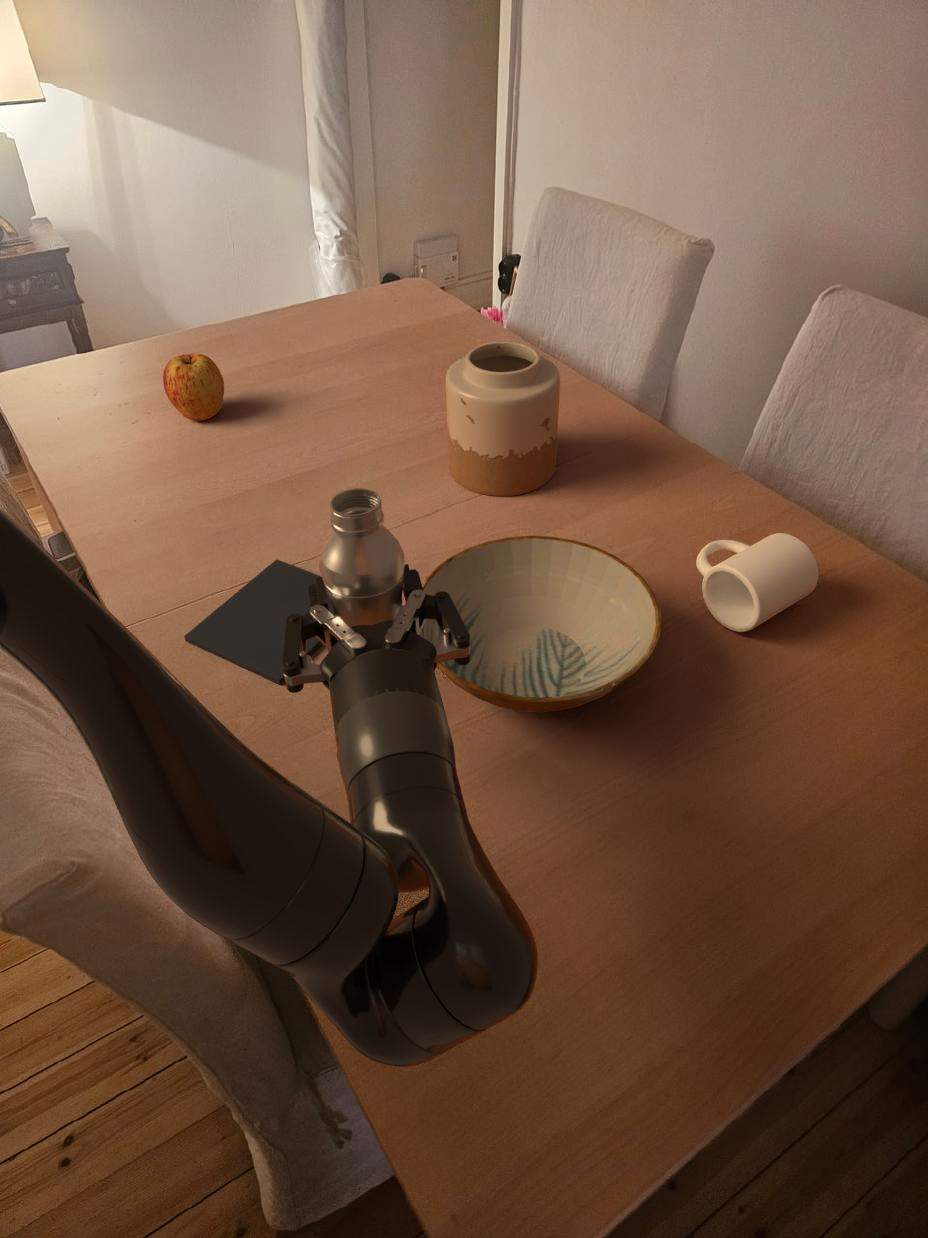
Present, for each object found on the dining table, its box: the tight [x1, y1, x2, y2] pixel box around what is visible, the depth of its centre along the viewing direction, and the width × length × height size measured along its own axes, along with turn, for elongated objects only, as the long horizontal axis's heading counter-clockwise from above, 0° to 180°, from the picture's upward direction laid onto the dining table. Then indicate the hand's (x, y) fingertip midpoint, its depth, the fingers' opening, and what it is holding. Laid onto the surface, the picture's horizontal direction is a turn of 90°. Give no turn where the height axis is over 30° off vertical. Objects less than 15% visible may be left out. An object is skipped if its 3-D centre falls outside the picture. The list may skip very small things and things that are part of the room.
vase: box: [444, 340, 561, 497], centre depth 112 cm, size 15×15×17 cm
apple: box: [162, 353, 225, 422], centre depth 129 cm, size 9×9×10 cm
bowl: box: [420, 535, 662, 713], centre depth 86 cm, size 25×25×8 cm
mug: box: [695, 532, 819, 633], centre depth 93 cm, size 12×10×8 cm
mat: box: [183, 559, 335, 686], centre depth 95 cm, size 16×14×1 cm
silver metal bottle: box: [318, 487, 405, 627], centre depth 66 cm, size 6×7×20 cm
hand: (362, 579), depth 67 cm, fingers closed on silver metal bottle, 6 cm apart
